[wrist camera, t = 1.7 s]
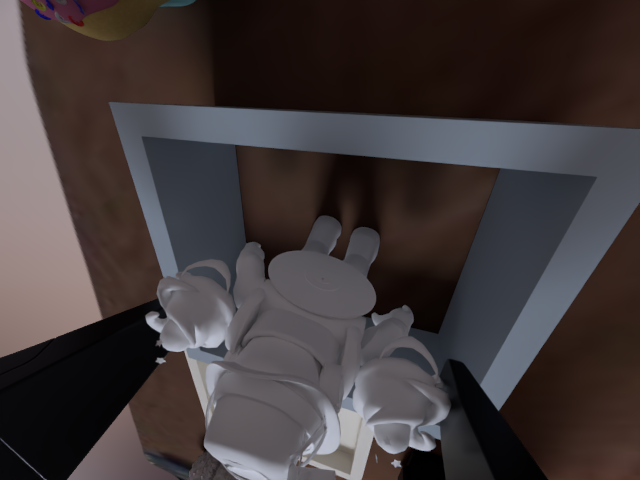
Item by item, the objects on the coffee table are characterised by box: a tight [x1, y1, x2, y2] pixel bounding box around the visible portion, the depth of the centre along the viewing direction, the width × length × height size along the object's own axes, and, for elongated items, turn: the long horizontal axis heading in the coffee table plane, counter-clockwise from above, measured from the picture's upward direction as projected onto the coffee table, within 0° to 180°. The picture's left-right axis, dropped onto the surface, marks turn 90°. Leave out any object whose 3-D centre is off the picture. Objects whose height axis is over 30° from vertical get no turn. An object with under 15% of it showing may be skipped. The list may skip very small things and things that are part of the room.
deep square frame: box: [109, 102, 640, 440], centre depth 12 cm, size 15×13×6 cm
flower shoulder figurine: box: [145, 215, 451, 480], centre depth 9 cm, size 9×4×12 cm, turn 76°
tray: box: [184, 350, 374, 480], centre depth 22 cm, size 16×14×2 cm
